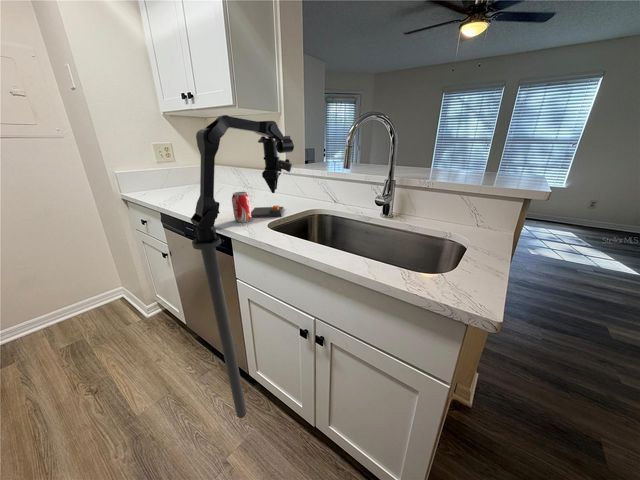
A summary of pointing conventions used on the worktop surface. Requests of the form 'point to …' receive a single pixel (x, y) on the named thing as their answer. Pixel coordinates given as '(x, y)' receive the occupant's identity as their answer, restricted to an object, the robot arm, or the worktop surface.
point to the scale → (266, 212)
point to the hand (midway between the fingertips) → (274, 191)
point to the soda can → (241, 206)
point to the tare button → (275, 207)
